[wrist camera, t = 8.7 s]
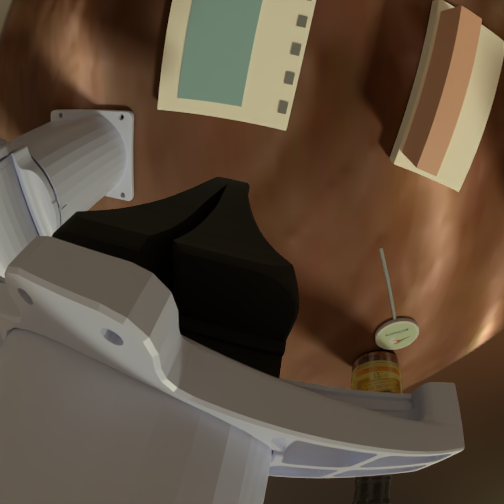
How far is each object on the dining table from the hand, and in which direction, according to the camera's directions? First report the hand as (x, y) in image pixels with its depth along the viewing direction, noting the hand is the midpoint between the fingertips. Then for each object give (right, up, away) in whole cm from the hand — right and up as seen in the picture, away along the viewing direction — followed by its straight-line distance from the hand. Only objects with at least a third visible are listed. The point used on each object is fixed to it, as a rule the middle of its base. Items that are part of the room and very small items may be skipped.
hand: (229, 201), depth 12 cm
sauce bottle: (+16, -16, +21) cm, 31 cm away
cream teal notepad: (0, +12, +3) cm, 13 cm away
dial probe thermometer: (+15, -7, +15) cm, 22 cm away
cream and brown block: (+15, +9, +2) cm, 17 cm away
